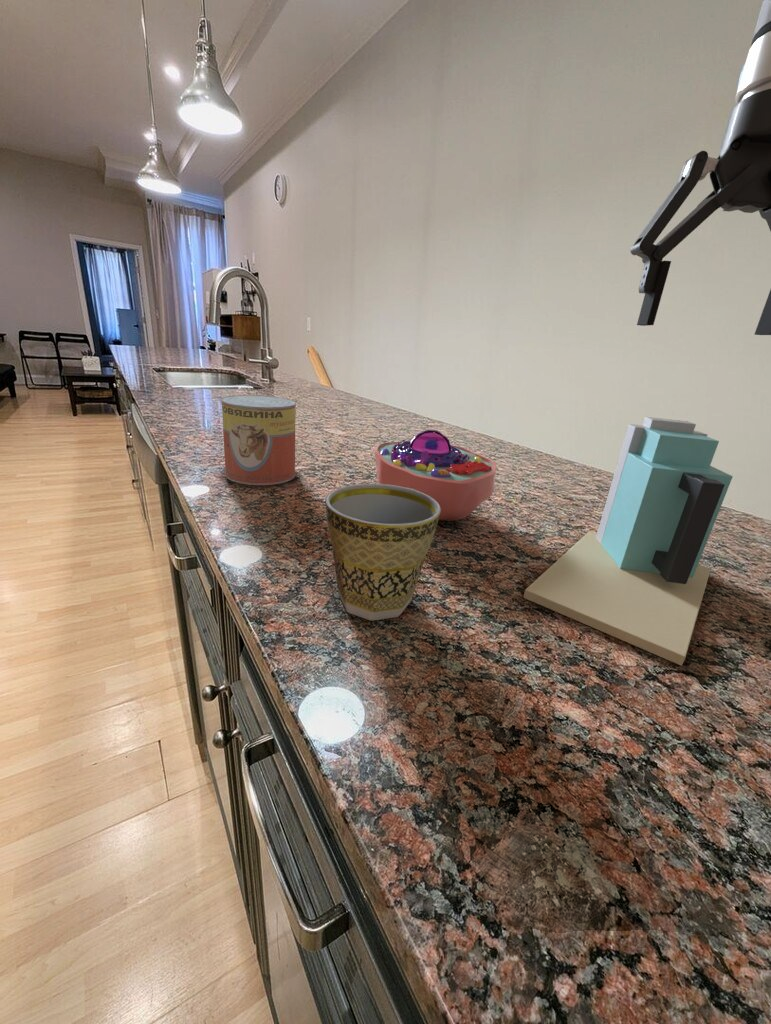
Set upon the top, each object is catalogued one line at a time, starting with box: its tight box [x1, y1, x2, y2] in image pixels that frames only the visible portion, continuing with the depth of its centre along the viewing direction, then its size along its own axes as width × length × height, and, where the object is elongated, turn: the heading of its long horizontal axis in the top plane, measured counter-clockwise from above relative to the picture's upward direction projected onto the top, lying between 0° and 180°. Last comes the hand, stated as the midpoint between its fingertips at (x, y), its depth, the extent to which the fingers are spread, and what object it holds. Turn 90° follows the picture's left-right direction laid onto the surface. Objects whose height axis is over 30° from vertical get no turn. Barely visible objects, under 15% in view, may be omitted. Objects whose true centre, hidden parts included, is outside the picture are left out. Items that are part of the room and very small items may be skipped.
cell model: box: [373, 429, 497, 522], centre depth 62 cm, size 17×20×11 cm
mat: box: [523, 530, 711, 666], centre depth 49 cm, size 22×14×1 cm, turn 141°
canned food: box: [220, 394, 297, 486], centre depth 72 cm, size 11×11×12 cm
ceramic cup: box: [324, 483, 441, 622], centre depth 42 cm, size 13×10×10 cm
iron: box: [596, 416, 733, 584], centre depth 50 cm, size 16×8×12 cm
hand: (704, 330), depth 52 cm, fingers open, 13 cm apart
